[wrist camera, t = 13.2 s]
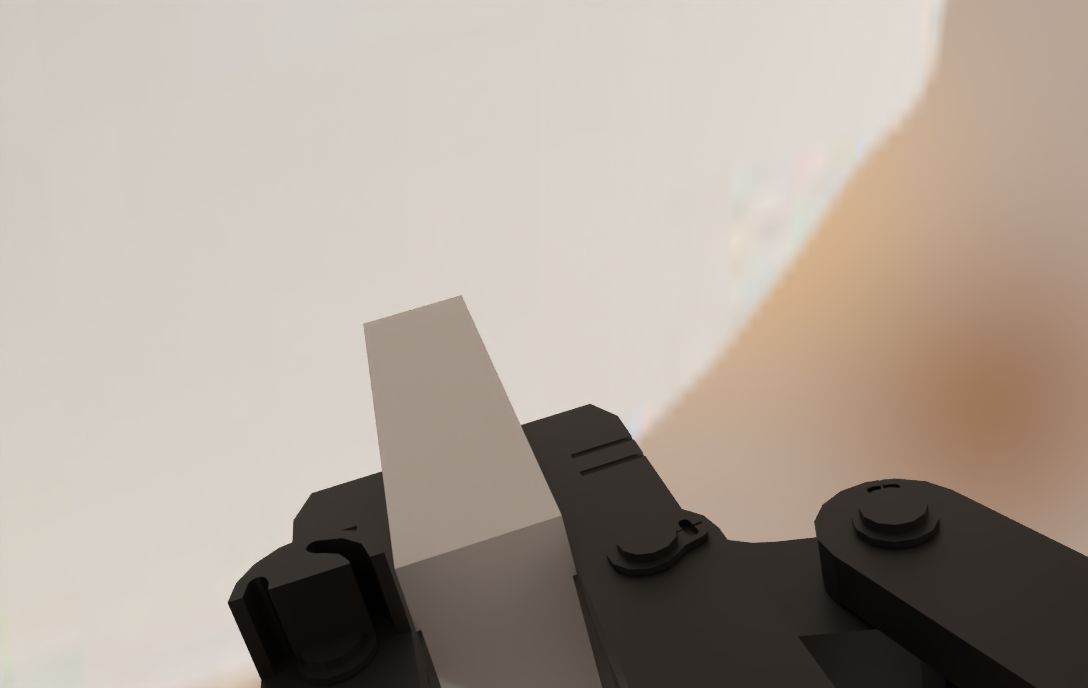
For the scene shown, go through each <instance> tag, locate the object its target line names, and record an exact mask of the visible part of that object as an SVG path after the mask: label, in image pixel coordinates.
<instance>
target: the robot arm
mask: <svg viewBox="0 0 1088 688" xmlns="http://www.w3.org/2000/svg"><path fill="white" fill-rule="evenodd" d="M363 325H364V332H365V340H366V348H367V356H368V364H369V372H370V379H371V387H372V395H373V403H374V411H375V419H376V426H377V434H378V442H379V450H380V458H381V466H382V472H379V473H376V474H372V475H369V476H366V477H363V478H360V479H356V480H353V481H350V482H347V483H343V484H340V485H337V486H334V487H331V488H327V489H324V490H321V491H318V492H314V493H312V494H311V495H310V497H309V498H308V500H307V501H306V503H305V504H304V506H303V507H302V509H301V510H300V512H299V513H298V515H297V516H296V518H295V519H294V522H293V542H292V543H290V544H287V545H285V546H283V547H280V548H278V549H277V550H275V551H274V552H272V553H271V554H269V555H268V556H266V557H265V558H263V559H262V560H260V561H259V562H257V563H256V564H254V565H253V566H252V567H251V568H250V569H249V570H248V571H247V573H246V574H245V575H244V576H243V577H242V578H241V579H240V580H239V581H238V582H237V583H236V585H235V587H234V589H233V592H232V594H231V596H230V599H229V601H228V605H229V607H230V609H231V611H232V614H233V616H234V618H235V621H236V623H237V625H238V627H239V630H240V632H241V634H242V637H243V639H244V641H245V644H246V646H247V648H248V650H249V653H250V655H251V657H252V660H253V662H254V664H255V666H256V669H257V671H258V673H259V676H260V678H261V688H1088V557H1087V556H1085V555H1083V554H1081V553H1079V552H1077V551H1075V550H1073V549H1071V548H1069V547H1067V546H1065V545H1063V544H1061V543H1059V542H1056V541H1054V540H1052V539H1050V538H1048V537H1046V536H1044V535H1042V534H1040V533H1038V532H1036V531H1034V530H1032V529H1030V528H1028V527H1026V526H1024V525H1022V524H1020V523H1018V522H1016V521H1014V520H1012V519H1010V518H1008V517H1006V516H1004V515H1001V514H1000V513H998V512H996V511H994V510H992V509H990V508H987V507H986V506H984V505H982V504H979V503H977V502H975V501H973V500H971V499H969V498H967V497H965V496H963V495H961V494H959V493H957V492H955V491H953V490H951V489H947V488H944V487H941V486H938V485H935V484H932V483H929V482H926V481H917V480H905V479H885V480H881V481H878V480H877V481H872V482H865V483H862V484H860V485H857V486H854V487H851V488H848V489H846V490H843V491H841V492H839V493H838V494H836V495H835V496H834V497H833V498H831V499H830V500H828V501H827V502H826V503H825V504H823V505H822V507H821V509H820V511H819V513H818V515H817V517H816V520H815V521H814V523H815V530H816V536H817V537H815V538H806V539H797V540H789V541H779V542H763V543H762V542H761V543H748V542H740V541H731V540H727V538H726V537H725V536H724V534H723V533H722V532H721V530H720V529H719V528H718V527H717V526H716V525H715V524H713V523H712V522H711V521H710V520H708V519H707V518H706V517H705V516H703V515H700V514H697V513H693V512H690V511H687V510H683V509H681V507H680V506H679V504H678V503H677V501H676V500H675V498H674V497H673V496H672V494H671V493H670V491H669V490H668V489H667V487H666V485H665V484H664V482H663V481H662V480H661V478H660V477H659V475H658V474H657V472H656V471H655V469H654V468H653V467H652V465H651V464H650V462H649V461H648V459H647V458H646V456H644V455H643V452H642V451H641V449H640V448H639V446H638V445H637V443H636V442H635V440H632V437H631V435H630V433H629V432H628V430H627V429H626V427H625V426H624V424H623V423H622V422H621V420H620V419H619V417H618V416H617V415H614V414H612V413H610V412H607V411H605V410H603V409H601V408H598V407H596V406H594V405H591V404H588V405H585V406H582V407H578V408H575V409H572V410H569V411H565V412H562V413H559V414H556V415H553V416H549V417H546V418H543V419H540V420H536V421H533V422H530V423H527V424H523V425H520V423H519V421H518V418H517V416H516V414H515V412H514V410H513V407H512V405H511V403H510V401H509V399H508V396H507V394H506V392H505V390H504V388H503V385H502V383H501V381H500V379H499V377H498V374H497V372H496V370H495V368H494V366H493V363H492V361H491V359H490V357H489V355H488V352H487V350H486V348H485V346H484V344H483V342H482V339H481V337H480V335H479V333H478V331H477V328H476V326H475V324H474V322H473V320H472V317H471V315H470V313H469V311H468V309H467V306H466V304H465V302H464V300H463V298H462V295H461V296H457V297H454V298H451V299H447V300H444V301H440V302H437V303H433V304H430V305H427V306H423V307H420V308H416V309H413V310H409V311H406V312H403V313H399V314H396V315H392V316H389V317H386V318H382V319H379V320H375V321H372V322H368V323H365V324H363Z"/></svg>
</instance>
